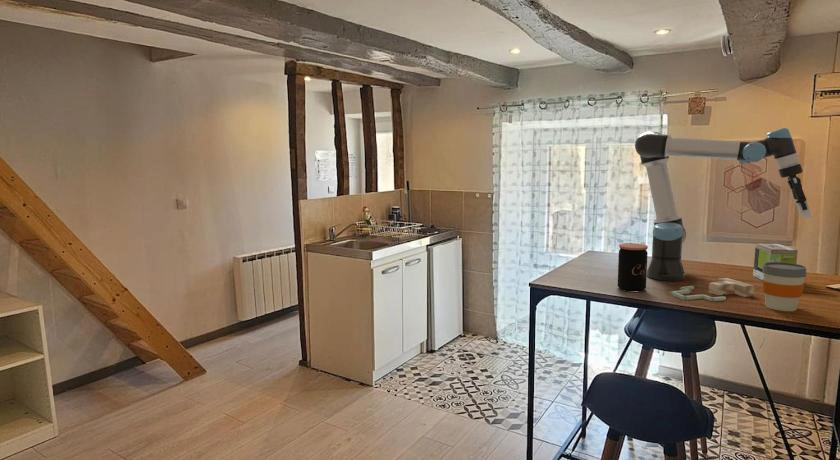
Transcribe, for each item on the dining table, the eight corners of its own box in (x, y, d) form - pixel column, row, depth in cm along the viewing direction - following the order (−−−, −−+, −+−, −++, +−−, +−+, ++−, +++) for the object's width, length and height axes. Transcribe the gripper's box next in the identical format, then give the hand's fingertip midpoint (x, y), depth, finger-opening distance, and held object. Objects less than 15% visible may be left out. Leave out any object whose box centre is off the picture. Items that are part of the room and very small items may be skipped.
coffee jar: (633, 294, 199) (635, 248, 196) (611, 288, 208) (613, 244, 206) (651, 290, 204) (653, 246, 201) (629, 284, 213) (631, 242, 210)
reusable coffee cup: (764, 311, 175) (768, 268, 173) (755, 301, 186) (758, 261, 184) (808, 314, 170) (812, 270, 168) (796, 303, 182) (800, 262, 180)
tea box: (795, 285, 207) (798, 249, 204) (768, 284, 209) (770, 249, 206) (777, 276, 221) (780, 243, 219) (752, 275, 223) (754, 242, 221)
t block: (725, 287, 206) (726, 277, 205) (752, 295, 193) (753, 285, 193) (700, 289, 203) (700, 279, 203) (726, 298, 191) (726, 288, 190)
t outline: (692, 288, 205) (692, 285, 204) (725, 300, 188) (726, 297, 188) (661, 291, 202) (661, 288, 201) (693, 303, 185) (693, 300, 185)
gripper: (803, 163, 194) (821, 216, 193) (796, 162, 215) (812, 209, 214) (780, 170, 198) (797, 222, 197) (776, 167, 219) (791, 214, 218)
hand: (805, 215), depth 206 cm, fingers open, 13 cm apart
